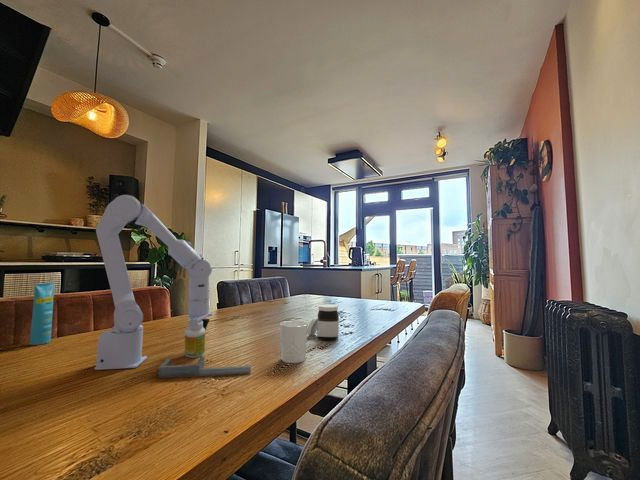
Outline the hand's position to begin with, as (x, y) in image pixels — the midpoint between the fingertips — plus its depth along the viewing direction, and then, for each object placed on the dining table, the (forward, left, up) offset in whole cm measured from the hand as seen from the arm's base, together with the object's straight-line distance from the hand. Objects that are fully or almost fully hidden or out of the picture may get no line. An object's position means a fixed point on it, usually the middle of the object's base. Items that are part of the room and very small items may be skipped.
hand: (198, 344), depth 89 cm
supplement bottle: (-1, -3, -2) cm, 3 cm away
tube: (-51, +16, -2) cm, 53 cm away
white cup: (+27, -11, -2) cm, 29 cm away
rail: (+5, -16, -2) cm, 17 cm away
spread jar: (+40, +10, -2) cm, 42 cm away
